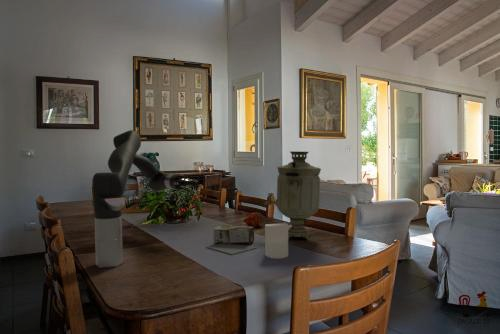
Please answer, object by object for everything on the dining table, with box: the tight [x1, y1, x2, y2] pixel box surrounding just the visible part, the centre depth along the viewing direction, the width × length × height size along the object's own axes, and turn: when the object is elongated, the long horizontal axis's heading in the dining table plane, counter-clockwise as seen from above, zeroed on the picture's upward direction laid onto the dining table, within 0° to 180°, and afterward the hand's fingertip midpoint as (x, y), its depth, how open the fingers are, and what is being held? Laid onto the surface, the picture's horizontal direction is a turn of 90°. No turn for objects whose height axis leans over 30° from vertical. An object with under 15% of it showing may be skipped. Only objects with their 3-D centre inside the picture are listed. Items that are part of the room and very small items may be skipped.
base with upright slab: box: [264, 222, 289, 259], centre depth 150 cm, size 9×9×12 cm
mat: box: [206, 243, 258, 256], centre depth 161 cm, size 16×14×1 cm
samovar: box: [263, 151, 322, 242], centre depth 180 cm, size 30×26×40 cm
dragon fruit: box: [243, 211, 265, 228], centre depth 206 cm, size 8×8×12 cm
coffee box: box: [213, 225, 255, 246], centre depth 170 cm, size 9×6×16 cm
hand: (196, 183), depth 177 cm, fingers closed
